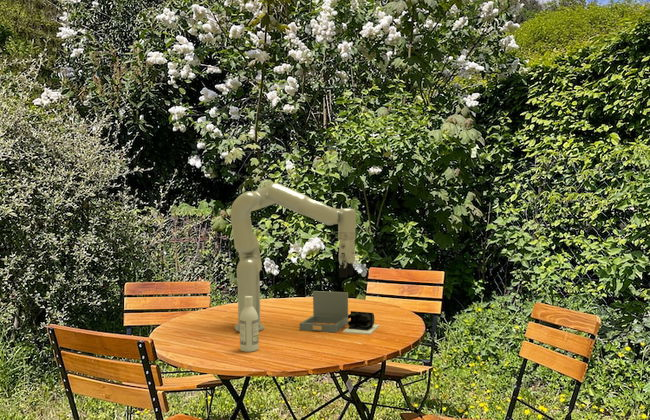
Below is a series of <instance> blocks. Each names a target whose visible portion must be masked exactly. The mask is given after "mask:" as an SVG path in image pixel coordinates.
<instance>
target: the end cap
mask: <svg viewBox="0 0 650 420" xmlns="http://www.w3.org/2000/svg"><path fill="white" fill-rule="evenodd" d="M349 319H350V320H349ZM374 324H375V313H374V312H367V311H365V312H364V311H356V310H351V311H350V314H349V313H348V324H347V325H348V327H349V326H350V327H349V329H357V330H370V329H371V328H372V327H373V325H374Z"/></svg>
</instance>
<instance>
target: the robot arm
mask: <svg viewBox="0 0 650 420" xmlns="http://www.w3.org/2000/svg"><path fill="white" fill-rule="evenodd" d="M274 204H276V205H279V206H280V207H283V208H286V209H288V210H290V211H292V212H294V213H297V214H299V215H302V216H306V217H308V218H311V219H313V221H314V220H315V221H317V222H319V223H321V224H323V225H326V226H333V225H338V226H337V229H338V231H337V240H338V241H339V246H338V262H339V263H338V264H339V265H338V267H339V268H338V277H339V278H347V276H348V275H349V276H352V275H354V262H355V261H356V245H355V243H356V242H355V241H356V228H357V226H356V225H357V223H356V222H357V219H356V218H357V217H356V216H357V215H356V213H357V212H356V210H355V209H354V208H334V207H330V206H328V205H326V204H324V203H321V202H319V201H317V200H314V199H313V198H311V197H310V196H308V195H305V194H303V193H302V192H299V191H296V190H295V189H293V188H290V187H287V186H285V185H283V184H280V183H277V182H272V183H270V184H269V185H267V186H265V187H263V188H259V189H256V190H253V191H245V192H243V193H241V194H240V195H238V197H237V198H236V199H235V200H234V201H233V202H232V205H231V208H230V220H231V229H232V236H233V243H234V248H235V250H236V251H237V252H238V258H239V261H238V263H237V266H236V280H237V281H236V282H237V313H238V314H237V315H238V317H237V318H238V319H237V320H238V321H237V324H235V325H234V331H236V332H239V333H240V314H241V312H242V310H243V308H244V307H245V296H252V297H253V305H252V306H253V307H254V309H255V310H256V312H257V314H258V332H260V331H263V330H264V329H265V326H264V324H262V323H261V290H260V289H261V287H260V286H261V285H260V284H261V283H260V272H261V270H262V263H263V262H262V257H261V252H260V246H259V240H258V237H257V235H256V234H255V233H254V231H253V226H252V225H253V224H252V218H251V214H252V212H253V211H258V210H260V209H263V208H265V207H269V206H272V205H274Z"/></svg>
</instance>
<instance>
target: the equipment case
mask: <svg viewBox="0 0 650 420" xmlns="http://www.w3.org/2000/svg"><path fill="white" fill-rule="evenodd" d="M312 299H313V300H312V304H313V305H312V307H313V308H312V309H313V310H312V311H313V314H312V315H311V316H309V317H308V318H307V319H304V320H303V321H301V322H300V323H299V331H304V332H305V331H307V332H320V333H321V332H322V333H337V332H339V331H340V330H341V329H343V328H344V327H346V326H347V325H348V321H349V319H348V315H349V292H348V291H347V292H346V291H345V292H344V291H343V292H342V291H326V290H325V291H324V290H323V291H319V290H313V291H312ZM332 323H333V324H332Z"/></svg>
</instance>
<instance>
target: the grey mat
mask: <svg viewBox="0 0 650 420" xmlns="http://www.w3.org/2000/svg"><path fill="white" fill-rule="evenodd" d="M349 327H350V326H349V325H348V327H346V328H345V329H344V330H343V331H342V333H345V334H357V335H370V336H371V335H372V334H373V333H374V332H375V331H376V330H377V329H379V327H380V324H375V323H374V325H373V327H372V328H371V329H370V330H357V329H349Z"/></svg>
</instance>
